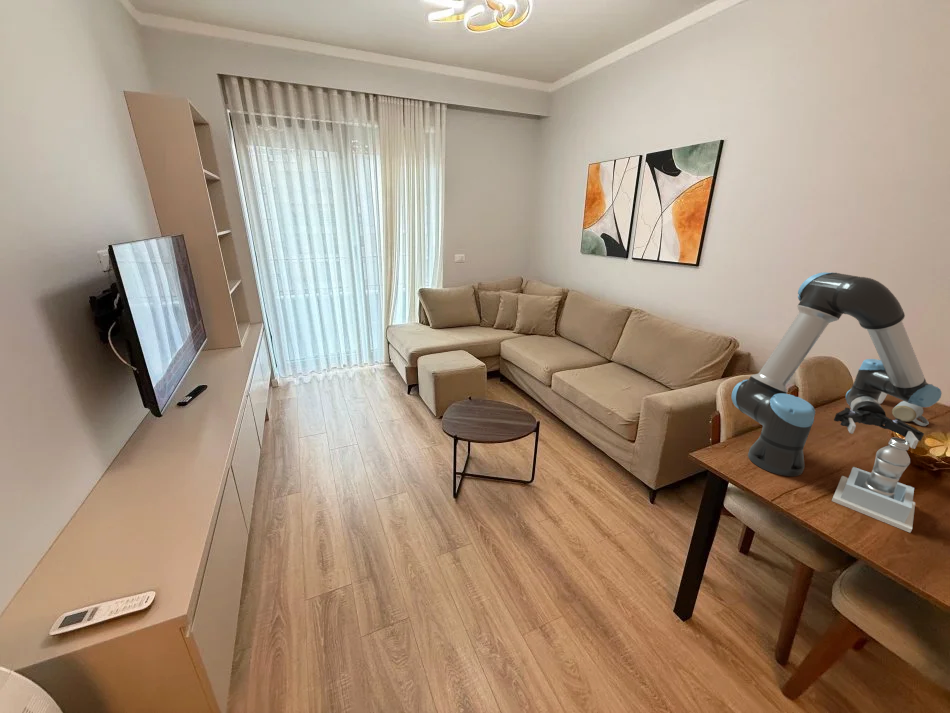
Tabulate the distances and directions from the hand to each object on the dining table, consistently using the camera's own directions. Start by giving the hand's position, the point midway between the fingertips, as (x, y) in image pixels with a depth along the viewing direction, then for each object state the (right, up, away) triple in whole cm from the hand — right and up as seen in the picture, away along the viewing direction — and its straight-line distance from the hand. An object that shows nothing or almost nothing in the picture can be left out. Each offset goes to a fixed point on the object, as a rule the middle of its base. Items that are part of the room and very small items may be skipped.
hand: (882, 436), depth 116 cm
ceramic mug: (+58, -3, +45) cm, 73 cm away
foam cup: (+61, +4, +62) cm, 87 cm away
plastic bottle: (-7, -18, -4) cm, 20 cm away
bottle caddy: (-7, -19, -4) cm, 20 cm away
